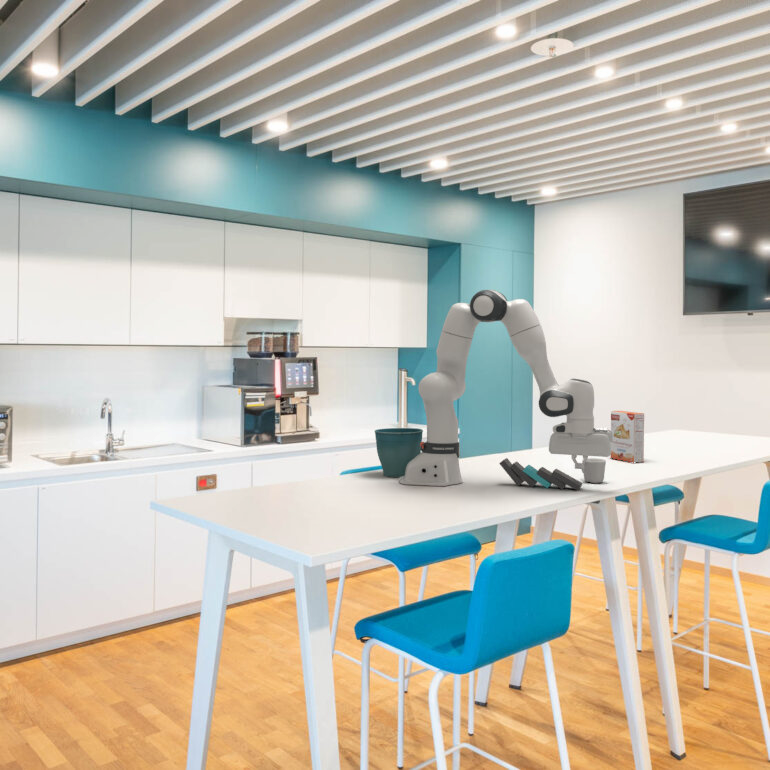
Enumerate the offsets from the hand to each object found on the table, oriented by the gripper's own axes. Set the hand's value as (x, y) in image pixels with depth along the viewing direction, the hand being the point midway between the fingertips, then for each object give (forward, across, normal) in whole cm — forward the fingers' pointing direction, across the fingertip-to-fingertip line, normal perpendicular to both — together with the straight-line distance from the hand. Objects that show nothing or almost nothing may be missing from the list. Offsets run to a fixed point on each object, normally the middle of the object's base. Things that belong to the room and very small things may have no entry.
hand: (579, 468), depth 248 cm
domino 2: (+6, +15, 0) cm, 16 cm away
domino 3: (+6, +5, 0) cm, 8 cm away
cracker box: (+7, -8, -75) cm, 76 cm away
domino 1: (+6, +20, 0) cm, 21 cm away
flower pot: (+7, +66, -2) cm, 67 cm away
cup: (+7, -2, -18) cm, 19 cm away
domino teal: (+6, +10, 0) cm, 11 cm away
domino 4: (+6, 0, 0) cm, 6 cm away
